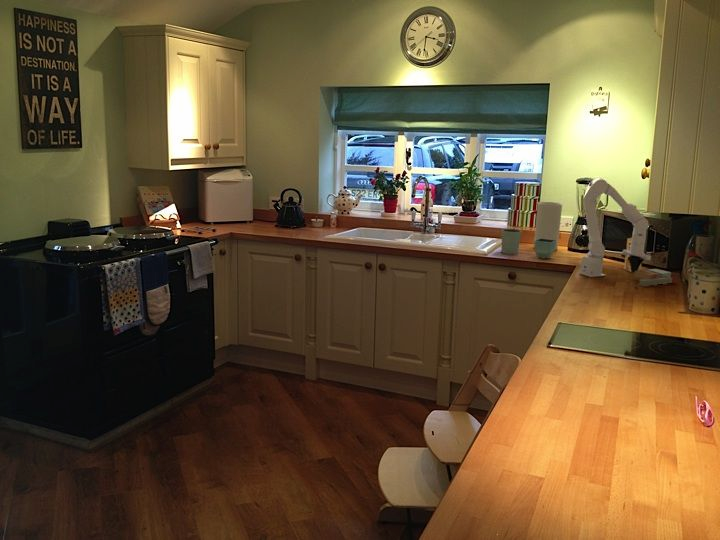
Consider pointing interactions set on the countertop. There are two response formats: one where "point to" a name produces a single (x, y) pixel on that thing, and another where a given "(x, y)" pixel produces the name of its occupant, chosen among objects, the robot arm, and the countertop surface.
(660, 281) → the stop rail
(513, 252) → the green tapered cup
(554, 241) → the flower pot
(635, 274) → the walnut block
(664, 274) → the grey-blue block
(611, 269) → the countertop surface
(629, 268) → the candy box
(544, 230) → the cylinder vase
